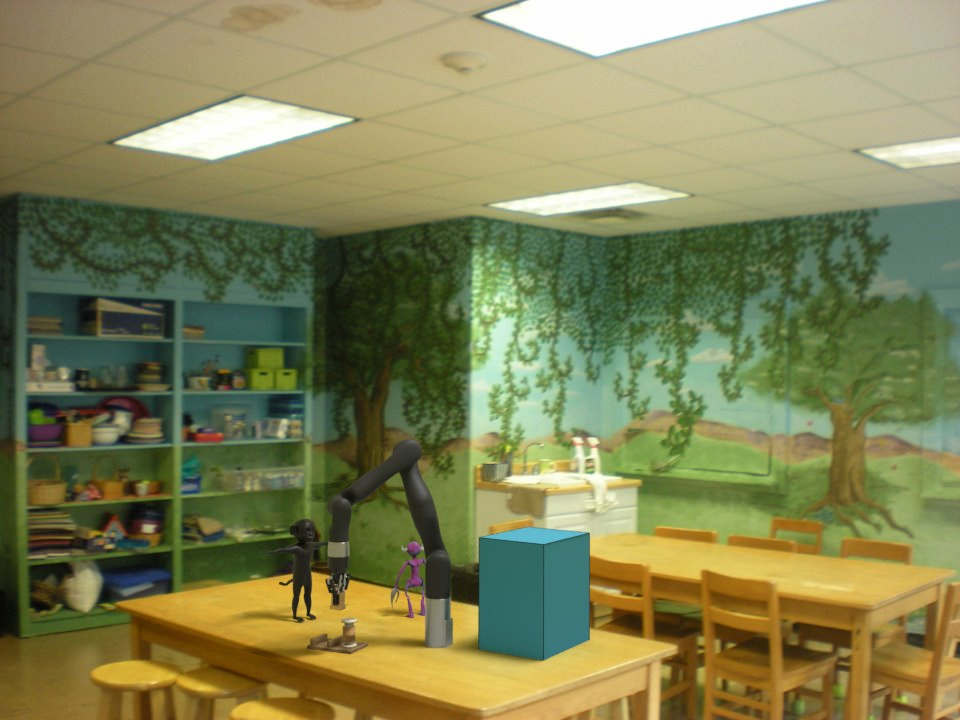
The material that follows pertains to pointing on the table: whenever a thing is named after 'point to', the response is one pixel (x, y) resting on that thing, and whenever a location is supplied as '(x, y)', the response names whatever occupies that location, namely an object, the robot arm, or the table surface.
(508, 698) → the table surface
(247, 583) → the table surface
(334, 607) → the tan wooden block
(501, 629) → the box
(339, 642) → the board
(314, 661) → the table surface
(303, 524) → the monkey
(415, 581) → the toy
